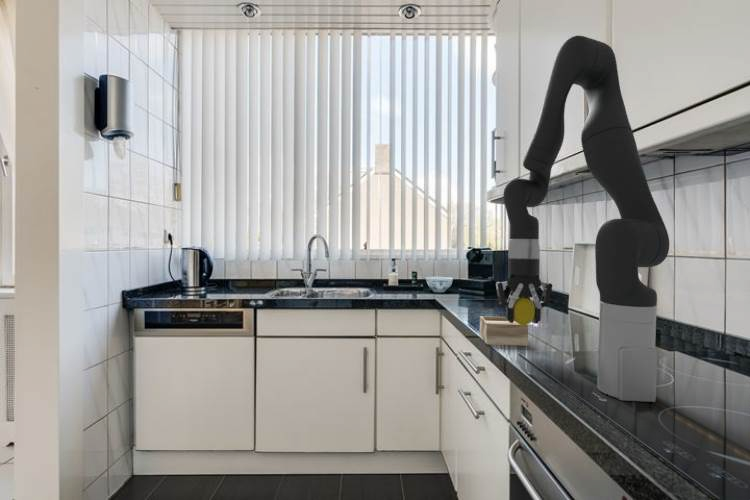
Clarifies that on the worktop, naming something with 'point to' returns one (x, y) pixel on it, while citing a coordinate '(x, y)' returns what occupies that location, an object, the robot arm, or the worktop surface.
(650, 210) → the robot arm
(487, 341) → the wooden box
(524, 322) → the lemon
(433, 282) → the chinaware
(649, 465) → the worktop surface
